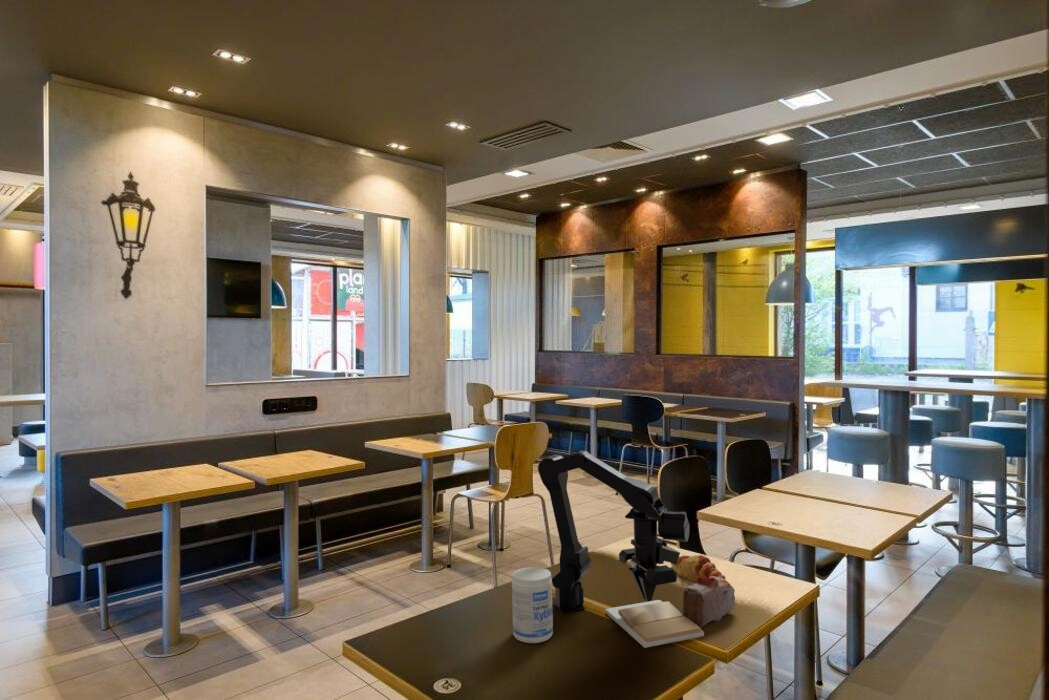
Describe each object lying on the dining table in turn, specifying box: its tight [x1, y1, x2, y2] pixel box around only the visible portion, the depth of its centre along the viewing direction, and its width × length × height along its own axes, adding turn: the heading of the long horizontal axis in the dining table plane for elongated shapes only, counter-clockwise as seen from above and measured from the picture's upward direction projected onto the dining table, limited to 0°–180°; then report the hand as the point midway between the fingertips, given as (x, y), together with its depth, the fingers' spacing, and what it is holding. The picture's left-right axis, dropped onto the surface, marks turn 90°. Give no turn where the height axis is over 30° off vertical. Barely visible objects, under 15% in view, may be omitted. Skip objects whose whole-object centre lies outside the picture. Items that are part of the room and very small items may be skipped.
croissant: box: [670, 554, 726, 583], centre depth 183 cm, size 21×10×8 cm, turn 30°
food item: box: [682, 576, 736, 628], centre depth 156 cm, size 14×8×10 cm, turn 132°
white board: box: [605, 599, 705, 649], centre depth 153 cm, size 16×20×2 cm
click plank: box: [618, 600, 684, 629], centre depth 154 cm, size 14×7×1 cm, turn 108°
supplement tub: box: [511, 566, 554, 644], centre depth 149 cm, size 10×10×15 cm
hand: (647, 600), depth 155 cm, fingers closed
